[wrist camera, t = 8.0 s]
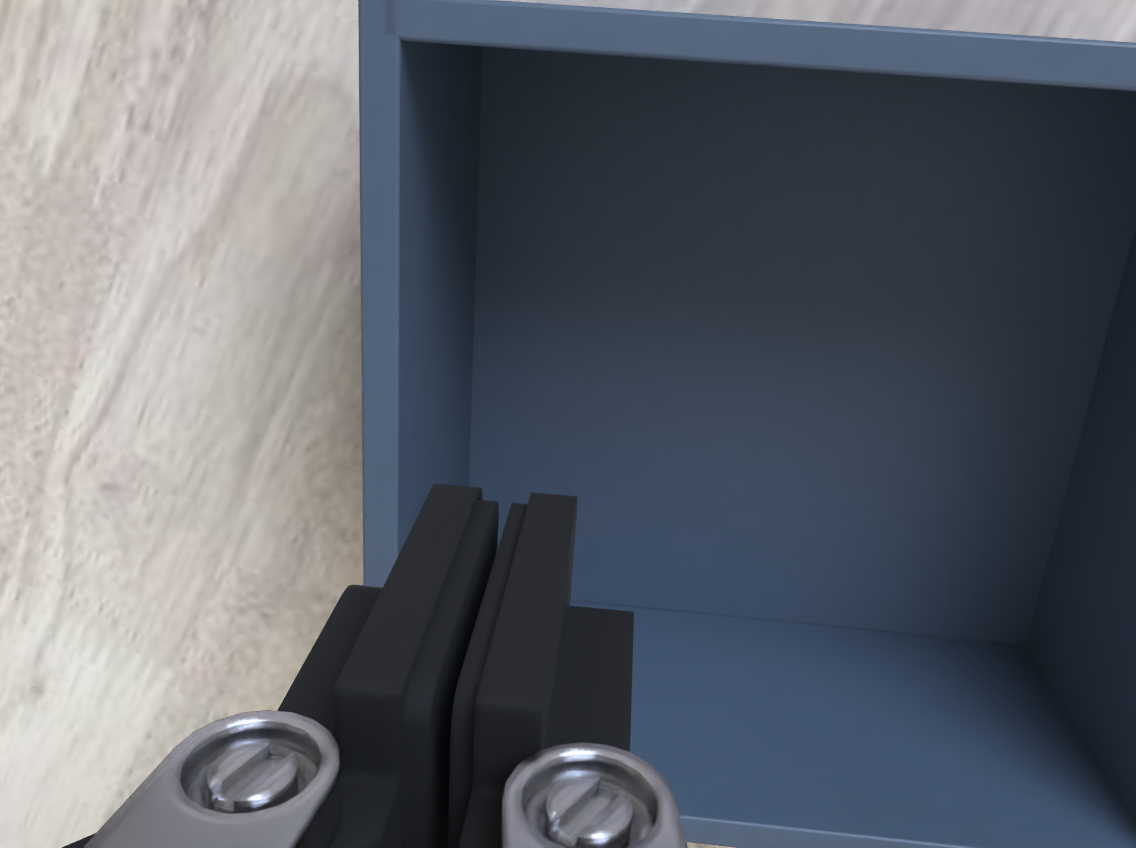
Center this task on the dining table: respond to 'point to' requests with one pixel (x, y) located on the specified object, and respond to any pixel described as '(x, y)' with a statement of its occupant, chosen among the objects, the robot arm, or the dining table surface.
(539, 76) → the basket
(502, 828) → the robot arm
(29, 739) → the dining table surface
